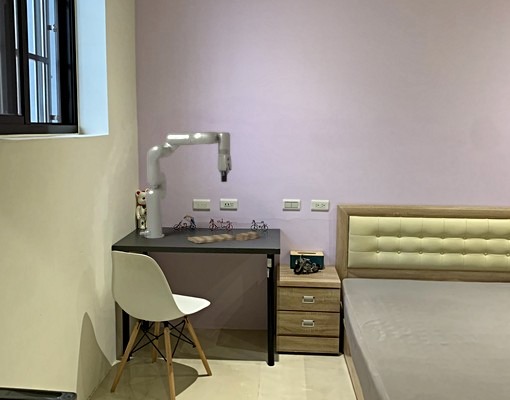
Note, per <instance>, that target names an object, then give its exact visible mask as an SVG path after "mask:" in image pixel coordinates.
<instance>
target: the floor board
mask: <svg viewBox="0 0 510 400" xmlns="http://www.w3.org/2000/svg"><path fill="white" fill-rule="evenodd" d="M208 236H209V237H212V238H215V239H217V242H216V243H218V242H227V241H233V240H234V241H235V240H236V236H234V235H231V234H228V233H224V234H214V235H208ZM236 241H237V240H236Z"/></svg>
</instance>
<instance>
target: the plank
mask: <svg viewBox="0 0 510 400" xmlns="http://www.w3.org/2000/svg"><path fill="white" fill-rule="evenodd" d="M209 236H210V235H205V236H202V235H200V236H188V237H187V240H188V241H190V242H193V243H195V244H205V243H218V242H217V239H215V238H212V237H209Z"/></svg>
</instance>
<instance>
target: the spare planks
mask: <svg viewBox="0 0 510 400" xmlns="http://www.w3.org/2000/svg"><path fill="white" fill-rule="evenodd" d="M235 237H236V241H241V242H244V241H250V240H255V239H259V232H255V231H249V232H242V233H241V232H240V233H237V234H236V236H235Z"/></svg>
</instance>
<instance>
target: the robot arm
mask: <svg viewBox="0 0 510 400" xmlns="http://www.w3.org/2000/svg"><path fill="white" fill-rule="evenodd" d="M165 140H166V141H165V142H164V143H163V144H155V145H154V146H152V147H150V148H149V149H148V151H147V153H146V182H147V184H148V185H149V186H151V188H149V189H148V190H147V191H146V192H145V196H144V197H145V205H146V229H145V230H144V231H140V232H139V236H142V235H144V238H147V239H162V238H164V237H165V234H164V233H163V223H162V222H163V219H162V212H163V211H162V204H161V202H162V201H164V200H165V199H166V197H167V177H166V174H165V173H164V171H162V170H161V163H160V159H163V158H169V157H170V156H171V155H173V154H174V153H175V152H176V150H177V149H178V148H179V147H180V146H195V145H214V144H215V145H216V144H217V170H218V172H219V173H220V182H222V183H227V182H228V174H229V173H230V171H232V169H233V167H232V164H233V163H232V156H231V133H230V132H226V131H225V132H224V131H220V132H218V131H197V132H196V131H195V132H194V131H172V132H169V133H167V134H166V137H165Z"/></svg>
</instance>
